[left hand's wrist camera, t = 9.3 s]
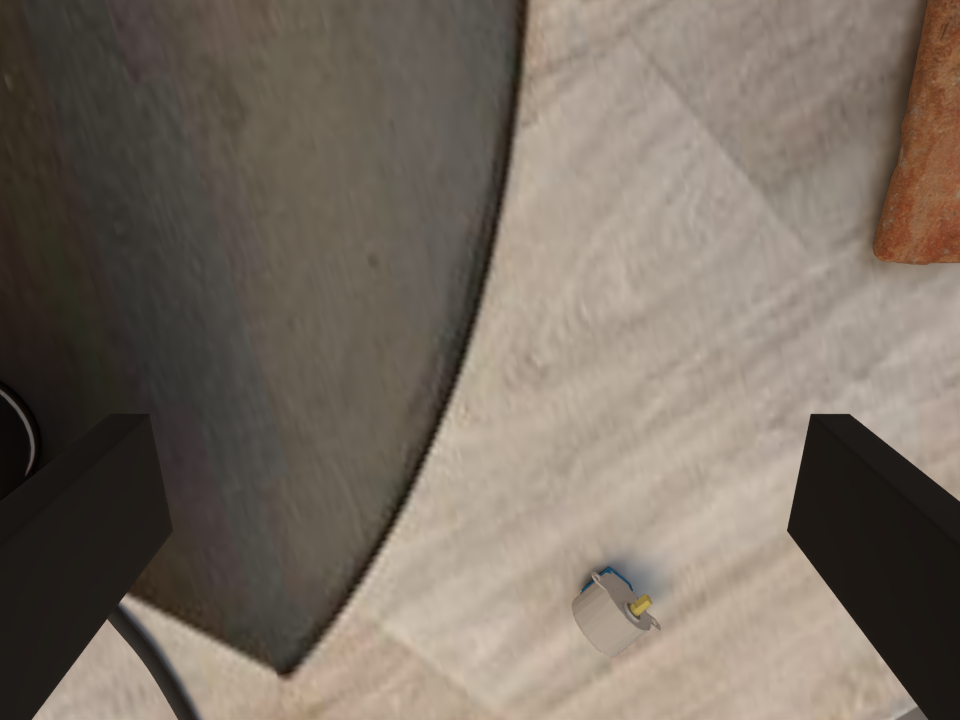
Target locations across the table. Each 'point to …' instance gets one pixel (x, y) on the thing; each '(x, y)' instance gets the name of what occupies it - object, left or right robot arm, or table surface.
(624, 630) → the electric motor
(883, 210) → the ceramic shard
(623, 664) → the table surface
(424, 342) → the table surface
